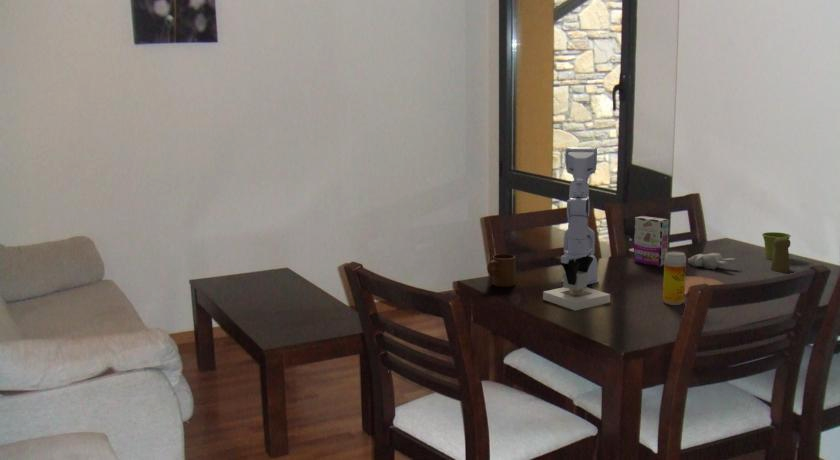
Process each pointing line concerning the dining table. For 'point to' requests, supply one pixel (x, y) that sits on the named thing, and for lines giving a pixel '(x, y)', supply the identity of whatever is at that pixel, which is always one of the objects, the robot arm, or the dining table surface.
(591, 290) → the socket
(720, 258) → the bunny figurine
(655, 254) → the candy bar box
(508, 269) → the mug
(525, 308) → the dining table surface
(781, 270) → the olive tall rounded piece
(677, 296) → the yellow supplement bottle
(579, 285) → the plug
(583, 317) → the dining table surface
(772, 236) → the plant pot
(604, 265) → the dining table surface
